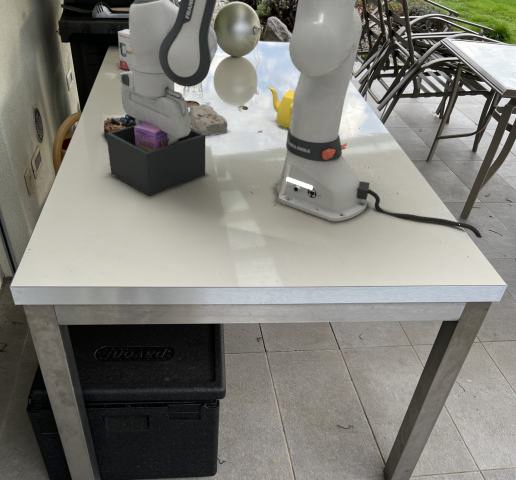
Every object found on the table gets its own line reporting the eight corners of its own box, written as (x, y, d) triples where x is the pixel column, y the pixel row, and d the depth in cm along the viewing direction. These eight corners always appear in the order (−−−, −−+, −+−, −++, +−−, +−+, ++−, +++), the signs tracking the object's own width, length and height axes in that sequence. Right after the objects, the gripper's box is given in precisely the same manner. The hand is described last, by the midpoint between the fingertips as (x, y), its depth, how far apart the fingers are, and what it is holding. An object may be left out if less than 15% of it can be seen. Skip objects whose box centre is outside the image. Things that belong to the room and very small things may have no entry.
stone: (232, 124, 150) (198, 123, 146) (228, 142, 154) (195, 142, 150) (218, 99, 157) (185, 97, 153) (214, 117, 161) (183, 116, 157)
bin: (205, 175, 133) (205, 135, 126) (149, 196, 123) (146, 154, 116) (167, 155, 139) (165, 116, 133) (111, 174, 129) (106, 132, 123)
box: (157, 181, 126) (154, 131, 118) (137, 175, 128) (133, 126, 120) (180, 165, 133) (178, 117, 125) (160, 160, 135) (158, 112, 127)
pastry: (99, 132, 147) (96, 111, 143) (140, 126, 152) (138, 105, 148) (114, 148, 140) (112, 125, 136) (156, 141, 146) (155, 119, 142)
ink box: (119, 68, 189) (116, 31, 181) (128, 65, 193) (125, 28, 185) (139, 73, 187) (137, 36, 179) (148, 70, 190) (146, 33, 182)
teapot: (283, 136, 155) (287, 99, 148) (264, 119, 163) (267, 84, 156) (323, 131, 160) (329, 95, 153) (303, 116, 168) (308, 81, 161)
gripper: (196, 92, 114) (197, 155, 123) (136, 68, 123) (141, 128, 132) (173, 98, 110) (176, 162, 119) (114, 72, 119) (120, 134, 129)
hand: (157, 144), depth 126 cm, fingers open, 8 cm apart
